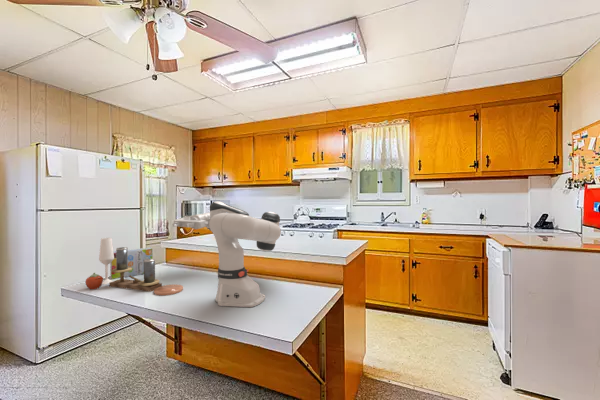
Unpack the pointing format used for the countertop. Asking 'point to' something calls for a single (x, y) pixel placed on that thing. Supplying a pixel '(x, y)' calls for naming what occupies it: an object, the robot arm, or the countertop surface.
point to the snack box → (133, 262)
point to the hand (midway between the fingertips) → (179, 225)
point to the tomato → (94, 281)
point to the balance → (133, 282)
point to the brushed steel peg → (149, 270)
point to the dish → (168, 289)
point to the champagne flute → (106, 256)
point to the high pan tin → (122, 258)
